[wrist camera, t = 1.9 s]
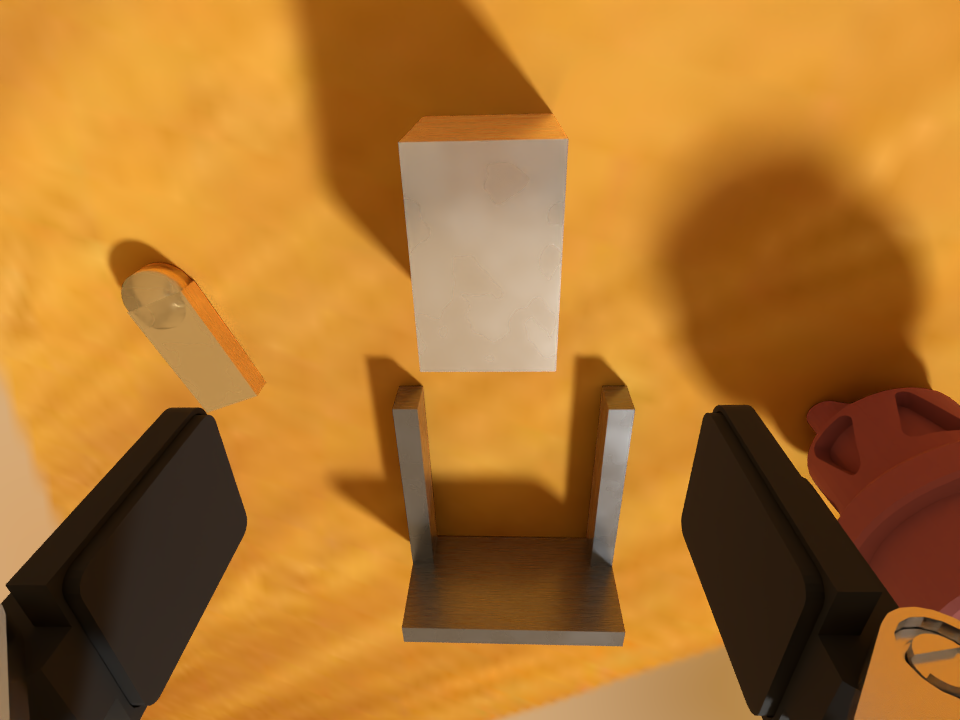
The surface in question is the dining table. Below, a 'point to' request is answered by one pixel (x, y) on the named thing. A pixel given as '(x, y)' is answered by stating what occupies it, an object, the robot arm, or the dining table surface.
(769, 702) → the robot arm
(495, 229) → the aluminium block
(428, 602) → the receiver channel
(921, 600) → the mechanical component
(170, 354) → the brass key tag
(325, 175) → the dining table surface
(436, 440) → the dining table surface
